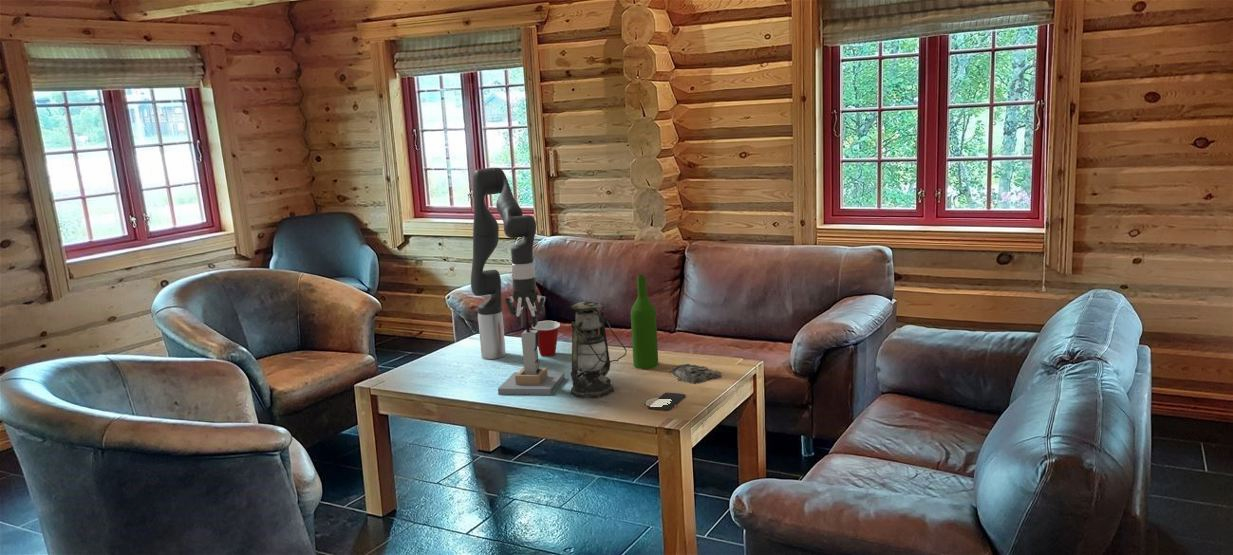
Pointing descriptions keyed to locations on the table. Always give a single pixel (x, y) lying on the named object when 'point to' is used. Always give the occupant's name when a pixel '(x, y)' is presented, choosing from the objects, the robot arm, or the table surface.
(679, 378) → the geode
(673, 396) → the phone
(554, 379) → the square socket base
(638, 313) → the wine bottle
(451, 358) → the table surface
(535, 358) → the vintage mobile phone
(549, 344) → the plastic cup
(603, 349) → the lantern
